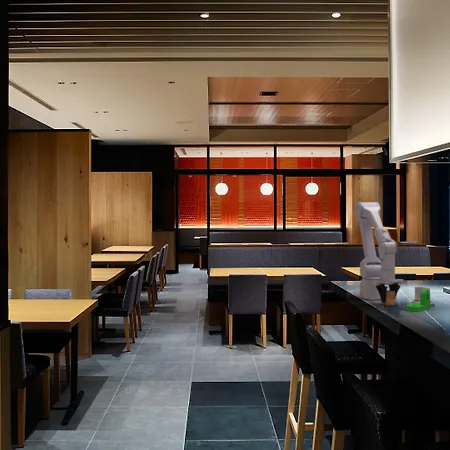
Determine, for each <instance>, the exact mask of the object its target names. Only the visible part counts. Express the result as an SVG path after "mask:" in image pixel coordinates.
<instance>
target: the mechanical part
mask: <svg viewBox="0 0 450 450" xmlns="http://www.w3.org/2000/svg"><path fill="white" fill-rule="evenodd" d="M430 301H431V290H430V291H429V290H426V289H422V291H421V293H420V303H418V302H417V301H414V302H415V303H412V302H411V303H409V304H406V305H405V307H406V309H405V310H406V311H409V312H414V313H420V312H423V311H425V310H426V311H427V310H429V309H431V306H430Z"/></svg>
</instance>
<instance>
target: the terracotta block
mask: <svg viewBox="0 0 450 450" xmlns="http://www.w3.org/2000/svg"><path fill="white" fill-rule="evenodd" d="M380 305H384V306H387V307H388V306H395V305H396V298H395V291H391V290H389V289H387V292H386V302H381V301H380Z"/></svg>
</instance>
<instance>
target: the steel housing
mask: <svg viewBox="0 0 450 450" xmlns="http://www.w3.org/2000/svg"><path fill="white" fill-rule="evenodd" d="M422 289H426V290H429V291H430V292H431V288H430V287H425V286H414V299H413V302H419V301H420V293H421V291H422ZM430 303H432V301H431V300H430Z"/></svg>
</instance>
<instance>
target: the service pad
mask: <svg viewBox="0 0 450 450" xmlns="http://www.w3.org/2000/svg"><path fill="white" fill-rule="evenodd" d="M415 302H416V301H412V302H411V304H412V303H415ZM418 303H420V301H419V302H418ZM430 307H436V305H435V303H434V302H433V303H432V302H431V303H430Z"/></svg>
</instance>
